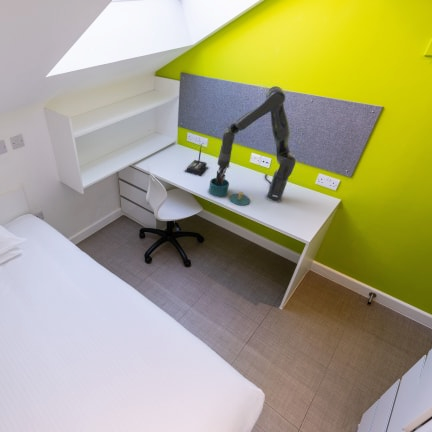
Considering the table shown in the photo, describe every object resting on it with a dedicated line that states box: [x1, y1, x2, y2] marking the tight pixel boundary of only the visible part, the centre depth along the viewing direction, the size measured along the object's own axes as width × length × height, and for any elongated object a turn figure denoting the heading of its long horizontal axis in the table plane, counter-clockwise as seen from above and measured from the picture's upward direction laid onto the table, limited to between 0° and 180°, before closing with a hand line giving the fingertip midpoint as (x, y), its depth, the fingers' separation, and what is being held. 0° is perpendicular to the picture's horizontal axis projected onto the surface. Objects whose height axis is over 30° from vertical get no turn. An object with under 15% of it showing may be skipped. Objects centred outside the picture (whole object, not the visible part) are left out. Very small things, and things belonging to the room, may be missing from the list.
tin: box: [208, 177, 230, 198], centre depth 206 cm, size 13×13×8 cm
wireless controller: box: [184, 143, 209, 177], centre depth 231 cm, size 20×14×17 cm
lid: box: [228, 191, 251, 207], centre depth 199 cm, size 14×14×6 cm
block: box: [215, 174, 226, 183], centre depth 201 cm, size 5×5×5 cm
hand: (220, 180), depth 202 cm, fingers closed on block, 4 cm apart
